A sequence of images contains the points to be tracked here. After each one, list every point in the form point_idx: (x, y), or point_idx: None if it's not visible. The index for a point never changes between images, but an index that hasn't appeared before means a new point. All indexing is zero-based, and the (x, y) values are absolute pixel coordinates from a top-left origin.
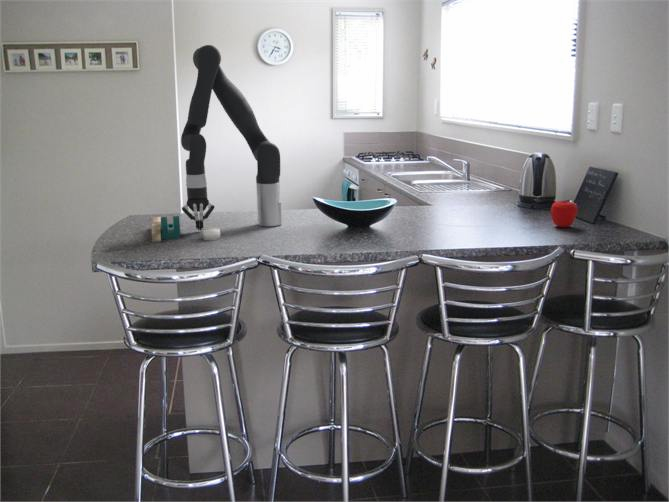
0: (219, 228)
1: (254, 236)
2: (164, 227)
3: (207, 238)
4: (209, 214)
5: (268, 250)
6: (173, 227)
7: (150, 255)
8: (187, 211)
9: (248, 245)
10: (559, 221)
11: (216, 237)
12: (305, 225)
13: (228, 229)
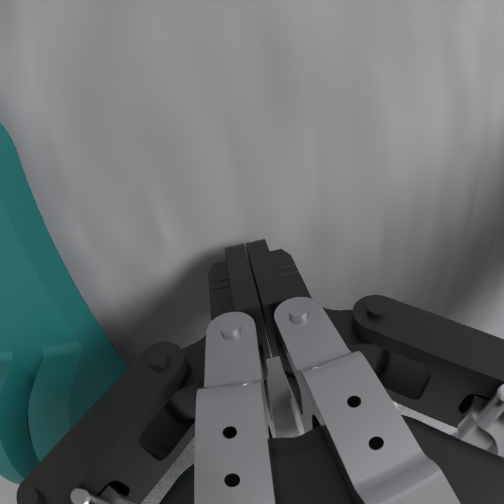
0: (397, 406)
1: (491, 331)
2: None
3: None
4: (423, 376)
5: (442, 428)
6: (5, 297)
7: (157, 495)
8: (141, 498)
9: (426, 418)
10: None
11: None
12: None
13: (462, 178)
